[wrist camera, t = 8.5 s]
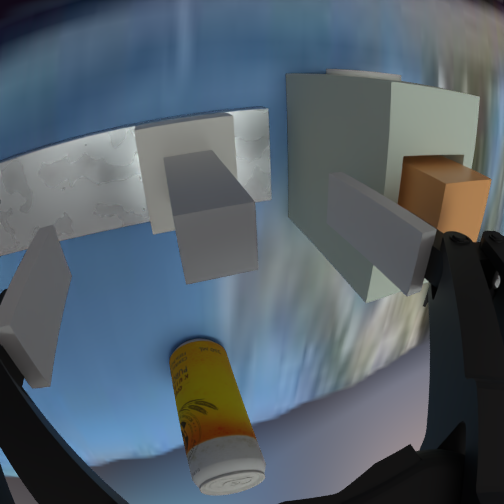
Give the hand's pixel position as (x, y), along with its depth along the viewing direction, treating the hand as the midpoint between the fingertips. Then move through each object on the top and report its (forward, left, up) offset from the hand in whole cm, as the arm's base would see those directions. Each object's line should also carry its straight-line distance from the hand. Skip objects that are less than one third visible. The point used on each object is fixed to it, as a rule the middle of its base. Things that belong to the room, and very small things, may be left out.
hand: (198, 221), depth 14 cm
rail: (-6, 0, -10) cm, 12 cm away
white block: (+12, 0, -10) cm, 16 cm away
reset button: (+12, 0, -1) cm, 12 cm away
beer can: (-2, -20, -10) cm, 23 cm away
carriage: (0, 0, -8) cm, 9 cm away
